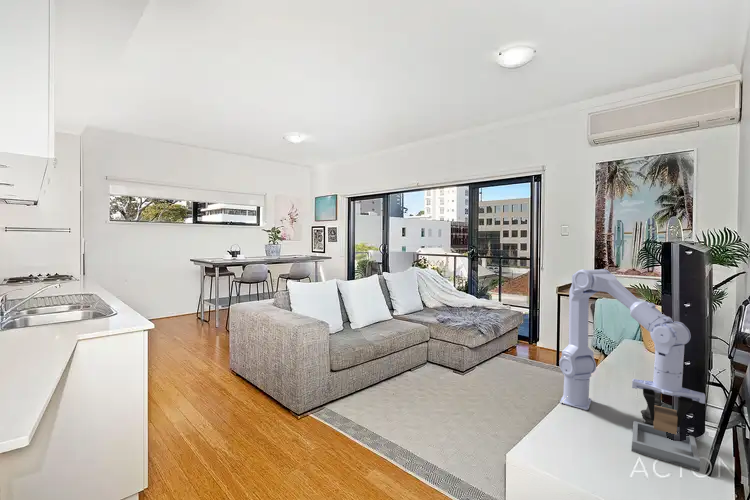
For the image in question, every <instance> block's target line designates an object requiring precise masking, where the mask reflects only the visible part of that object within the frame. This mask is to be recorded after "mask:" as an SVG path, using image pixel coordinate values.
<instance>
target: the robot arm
mask: <svg viewBox="0 0 750 500" xmlns="http://www.w3.org/2000/svg"><path fill="white" fill-rule="evenodd" d="M599 292H604V293H608V294H609V295H610V296H612V298H614V299H615V300H617V302H620V303H621V304H622V305H623V306H624V307H626V308H627V309H629V310H630V311H629V314H630V317H632V319H634V321H635V322H637V323H638V324H640V326H642V327H643V328H644V329H645V330H646V331H647V332H649V335H650V339H651V340H652V342H653V343H654V361H653V362H654V363H653V364H654V365H653V366H654V367H653V379H652V380H653V381H651V380H644V379H636V378H632V382H631V388H632V389H635V390H637V389H638V390H642V395H643V397H644V399H645V401H646V404H648V407H649V411H650V415H651V420H653V421H654V402H655V392H657V393H661V395H662V394H663V395H667V396H672V397H677V409H676V411H677V416H678V420H677V428H680V427H681V426H682V425H681V424H682V422H683V419H684V417H685V416H686V413H688V412H689V410H691V408H692V407H693V401H695V402H698V403H700V404H704V405H705V404H706V394H705V393H704V392H700V391H696V390H692V389H689V388H685V387H683V374H684V359H685V358H684V357H685V356H684V355H685V345H686V344H688V343H689V342H690V340H691V337H692V336H691V332H690V329H689V328H688V327H687V325H686V324H684V323H683V322H681V321H674V320H673V318H671V317H670V316H667V315H665V314H664V313H663V311H661V310H660V309H658V308H657V305H656V304H655V303H654V302H649V301H646V300H645V301H642V300H640V299H638V297H637V296H635V295H634V294H633V293H632V292H631V291H630V290H628V288H626V287H625V286H624V285H623V284H622V283H621V282H620V281H619V280H617V277H616V275H615V274H613V273H611V272H610V271H609V270H608V269H605V268H600V269H583V268H582V269H579V270H577V271H575V273H573V274H572V275H571V285H570V287H569V292H568V295H569V296H568V299H569V302H568V345H567V346H566V347H565V348H564V349H562V351H561V357H560V359H559V361H558V362H559V363H558V364H559V369H560V371H561V372H562V375H564V377H563V392H562V393H563V395H562V396H561V398H560V401H559V403H560V404H562V403H563V402H564V403H563V404H562V405H566V406H569V407H574V408H578V409H581V410H585V411H588V410H589V409H590V407H591V403H592V398H591V397H589V396H590V379H591V377H592V374H593V373H595V371H596V370H597V363H596V359H595V356H594V355H595V352H594V351H593V350H592V349H591V348H590V347H589V310H590V307H589V303H590V302H589V299H590V298H591V297H592V296H594V295H595V294H596V293H599ZM662 313H663V314H662ZM673 321H674V322H673ZM567 396H568V397H567ZM565 398H566V399H565ZM564 399H565V400H564ZM563 400H564V401H563ZM562 401H563V402H562ZM561 402H562V403H561Z"/></svg>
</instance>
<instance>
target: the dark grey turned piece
mask: <svg viewBox="0 0 750 500" xmlns="http://www.w3.org/2000/svg"><path fill="white" fill-rule="evenodd" d="M661 396H662V393H657V392H655V402H654V405H656V406H660V407H662V405H663V402H661V398H662V397H661ZM646 404H647V403H646ZM640 413H641V416H642V419H643V421H642V422H641V423H644V424H648V425H651V426H654V423H653V420H651V415H650V411H649V407H648V404H647V407H646V409H642V410H640Z"/></svg>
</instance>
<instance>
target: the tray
mask: <svg viewBox="0 0 750 500" xmlns="http://www.w3.org/2000/svg"><path fill="white" fill-rule="evenodd" d="M632 424H633V425H632V438H631V439H632V440H631V441H632V442H631V452H634V453H638V454H641V455H644V456H648V457H650V458H654V459H657V460H661V461H664V462H667V463H670V464H674V465H677V466H681V467H684V468H687V469H690V470H694V471H698V472H700V471H701V469H700V468H701V458H700V455H699V451H698V446H697V442H696V438H695V436H693V435H689V434H688V435H689V436H686V440H684V441H673V440H671V439H669V438H667V436H666V432H664V431H660V430H656V429H654V426H651V425H648V424H644V423H642V422H640V421H636V420H633V423H632Z"/></svg>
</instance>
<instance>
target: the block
mask: <svg viewBox="0 0 750 500" xmlns="http://www.w3.org/2000/svg"><path fill="white" fill-rule="evenodd" d="M677 420H678V416H677V409H673V408H668V407H663V406H661V407H660V406H656V405H654V421H653V423H654V429H656V430H660V431H664V432H668V433H671V434H675V435H677V431H678V427H677Z"/></svg>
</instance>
